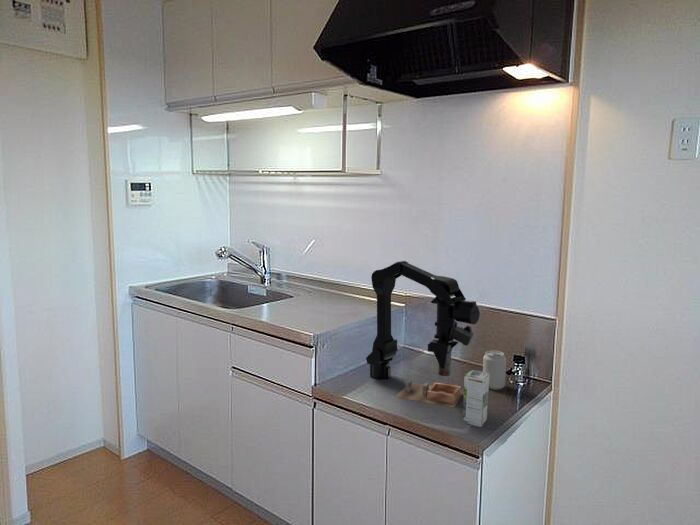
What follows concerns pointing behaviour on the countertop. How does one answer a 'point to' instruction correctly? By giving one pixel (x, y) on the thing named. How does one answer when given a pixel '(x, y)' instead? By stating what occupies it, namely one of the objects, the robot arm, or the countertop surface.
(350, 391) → the countertop surface
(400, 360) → the countertop surface
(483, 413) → the syrup box
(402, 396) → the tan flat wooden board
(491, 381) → the can
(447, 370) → the cell
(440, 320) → the robot arm
